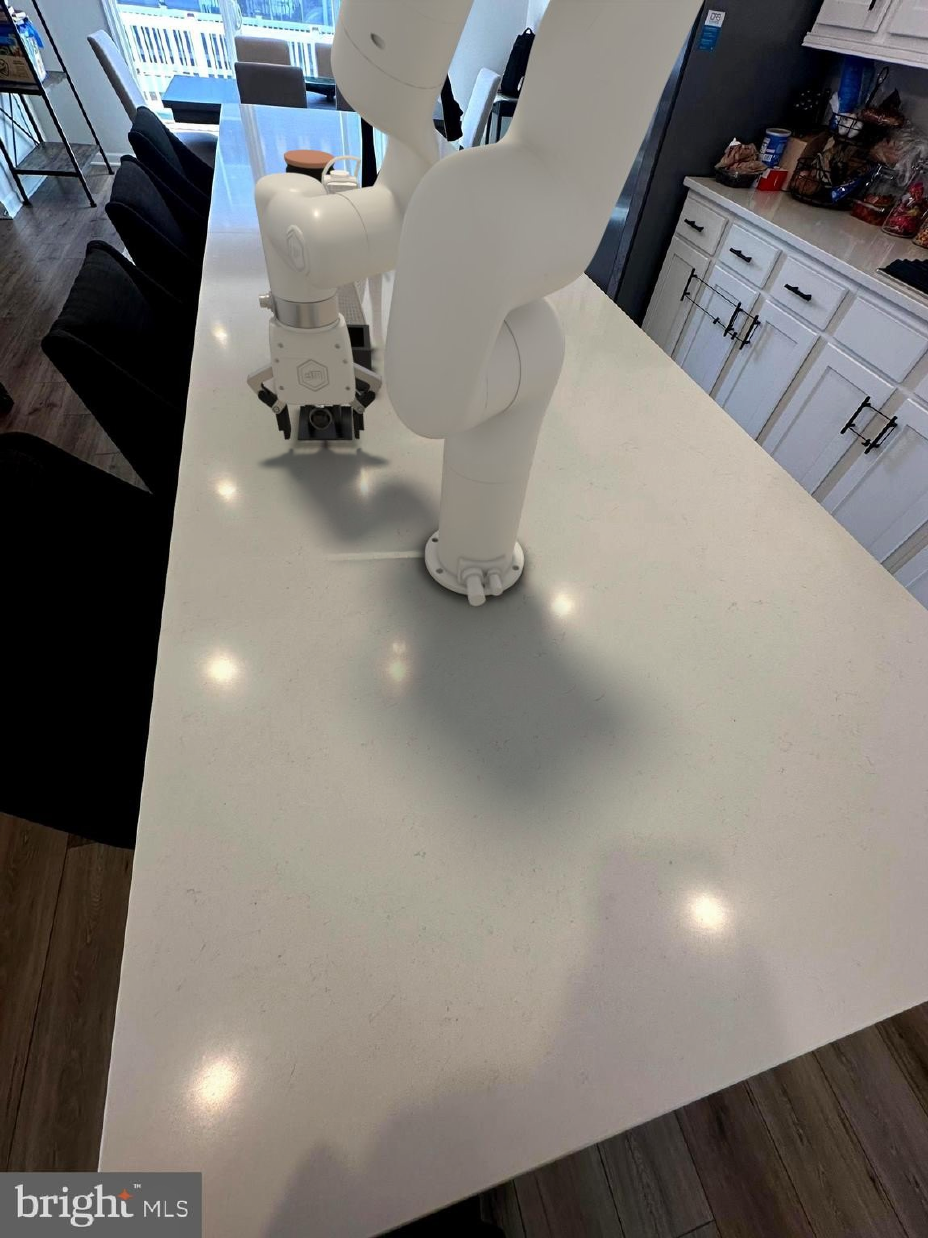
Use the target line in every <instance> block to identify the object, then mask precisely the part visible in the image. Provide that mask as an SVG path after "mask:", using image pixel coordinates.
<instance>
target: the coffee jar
mask: <svg viewBox="0 0 928 1238" xmlns="http://www.w3.org/2000/svg"><path fill="white" fill-rule="evenodd" d="M335 157H336V156H334V155H333V154H331V153H329V152H327V151H321V150H316V149H315V150H314V149H293V150H289V151H286V152H285V153H283V160H284V162H285V163H286V167H285V173H297V174H303V175H307V176H310V177H312V178H315V179H317V180H318V181H319V182H320V183H321V184H322V173H323V170H324V168H325V166H326V165H327V163H328V162H329V161H330V160H332V159H333V158H335ZM335 164H336V162H334V163H333V164H332V165H331V166H330V167H329V169H328V170H327V173H326V175H330V172H331V171H333V170H336V169H335V168H334V166H335Z"/></svg>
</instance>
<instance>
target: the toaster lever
mask: <svg viewBox="0 0 928 1238" xmlns="http://www.w3.org/2000/svg"><path fill="white" fill-rule="evenodd" d="M315 406H316V408H314V409H313V410H312V411H311V413H310V422H311V424H312V425H313V426H314V427H315V428H317V429H326V428H328V427H329V426H330V424H331V421H332V417H331V414H330V412H329V411H328V410H327V409H326V408H325V406H326V405H315Z"/></svg>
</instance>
